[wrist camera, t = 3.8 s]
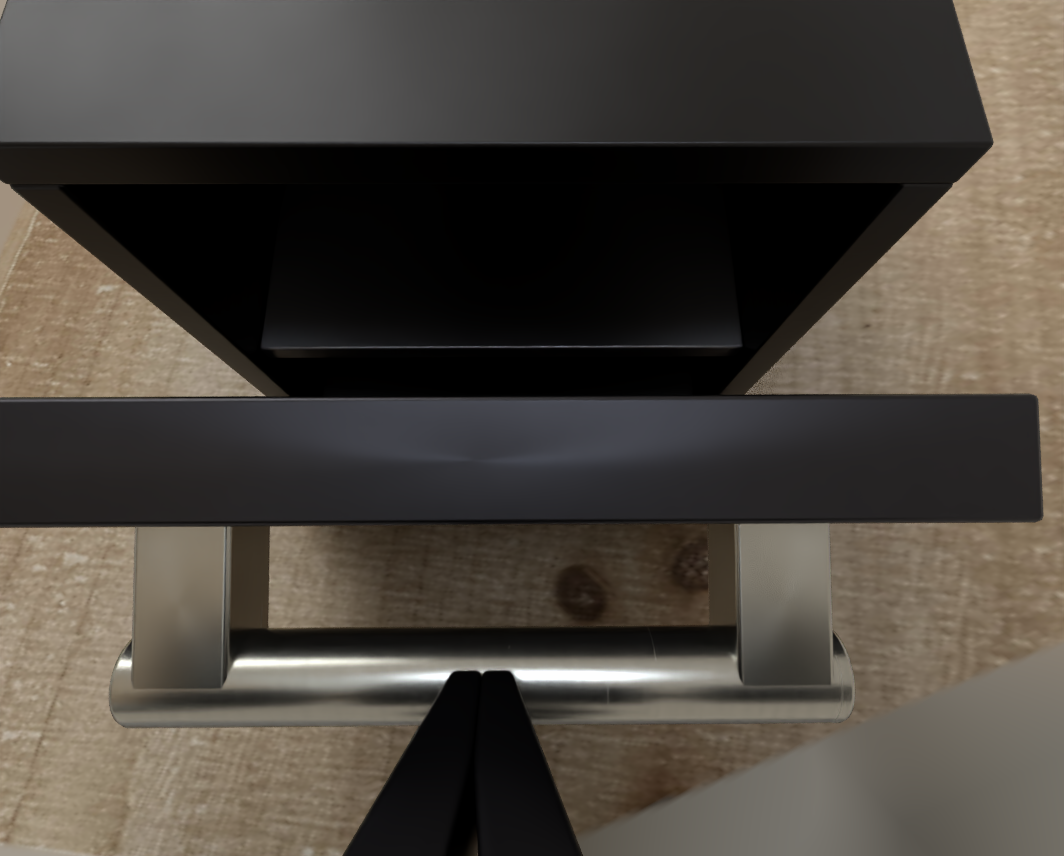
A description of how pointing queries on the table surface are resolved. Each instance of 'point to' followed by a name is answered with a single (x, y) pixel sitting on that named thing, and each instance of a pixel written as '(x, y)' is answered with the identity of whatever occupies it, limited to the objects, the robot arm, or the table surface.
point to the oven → (488, 177)
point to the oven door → (502, 499)
